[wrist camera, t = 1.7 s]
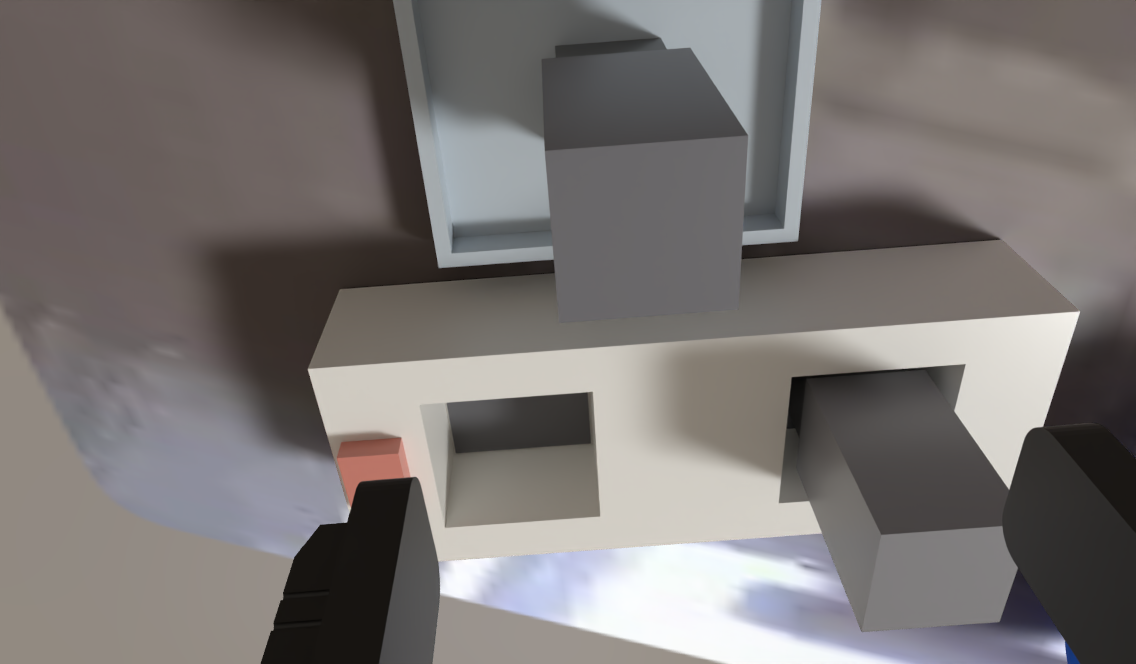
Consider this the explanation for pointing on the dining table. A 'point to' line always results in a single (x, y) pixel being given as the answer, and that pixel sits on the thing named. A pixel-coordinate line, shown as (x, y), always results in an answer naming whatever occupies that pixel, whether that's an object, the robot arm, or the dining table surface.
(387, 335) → the pdu strip
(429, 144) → the tray
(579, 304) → the plug
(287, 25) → the dining table surface
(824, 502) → the twin plug
